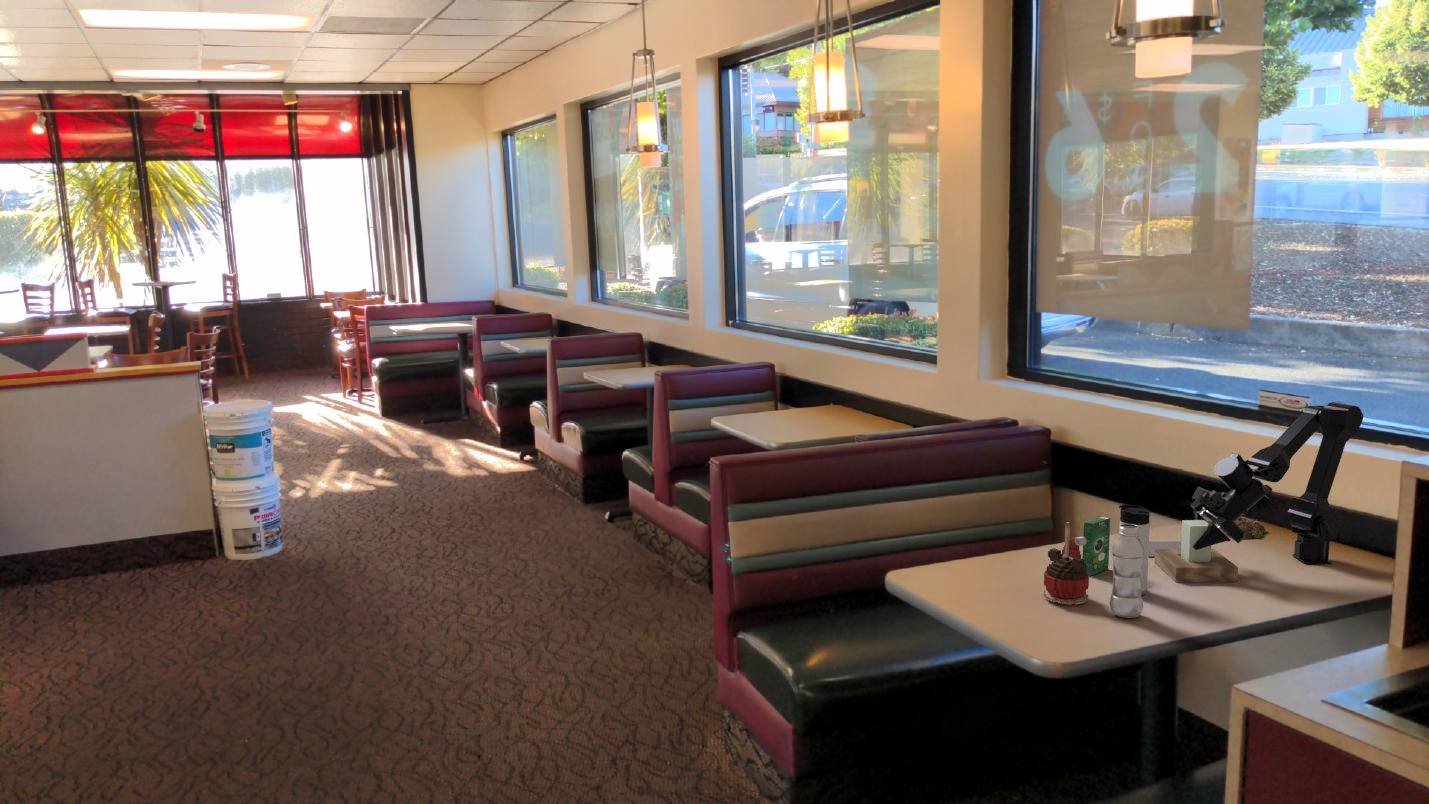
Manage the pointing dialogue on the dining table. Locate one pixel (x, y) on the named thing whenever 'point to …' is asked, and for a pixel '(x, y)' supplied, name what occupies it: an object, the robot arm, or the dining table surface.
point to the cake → (1067, 572)
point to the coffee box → (1096, 544)
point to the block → (1194, 541)
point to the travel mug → (1141, 519)
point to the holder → (1196, 567)
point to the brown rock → (1250, 527)
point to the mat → (1162, 546)
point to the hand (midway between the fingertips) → (1190, 545)
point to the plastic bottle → (1127, 573)
